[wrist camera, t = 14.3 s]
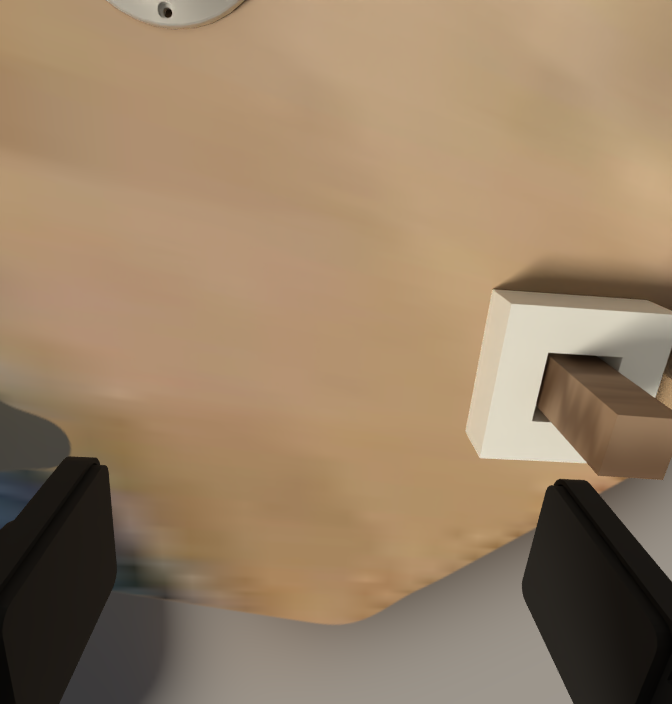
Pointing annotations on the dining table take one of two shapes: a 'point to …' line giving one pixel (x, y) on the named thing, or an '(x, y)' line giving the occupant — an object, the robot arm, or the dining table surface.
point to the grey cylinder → (668, 366)
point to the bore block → (531, 354)
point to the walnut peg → (606, 417)
